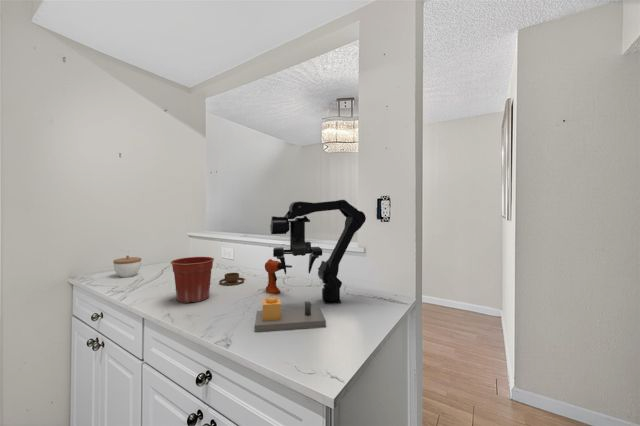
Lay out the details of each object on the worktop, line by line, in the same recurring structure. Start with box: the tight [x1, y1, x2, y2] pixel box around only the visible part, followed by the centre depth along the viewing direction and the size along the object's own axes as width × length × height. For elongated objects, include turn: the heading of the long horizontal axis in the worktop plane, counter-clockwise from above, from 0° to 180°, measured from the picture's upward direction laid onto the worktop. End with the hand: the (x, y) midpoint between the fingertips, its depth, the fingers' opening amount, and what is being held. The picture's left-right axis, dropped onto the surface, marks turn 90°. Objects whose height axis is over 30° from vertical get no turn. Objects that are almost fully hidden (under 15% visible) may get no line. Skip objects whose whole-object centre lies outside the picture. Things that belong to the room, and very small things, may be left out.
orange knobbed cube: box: [262, 295, 282, 321], centre depth 91 cm, size 6×6×6 cm
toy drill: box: [264, 258, 293, 295], centre depth 121 cm, size 5×19×15 cm, turn 45°
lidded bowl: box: [112, 255, 142, 278], centre depth 153 cm, size 13×13×11 cm
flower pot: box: [170, 256, 215, 304], centre depth 115 cm, size 16×16×16 cm
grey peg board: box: [254, 301, 327, 333], centre depth 92 cm, size 22×12×6 cm, turn 100°
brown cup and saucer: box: [210, 272, 247, 287], centre depth 142 cm, size 18×20×6 cm
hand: (297, 273), depth 108 cm, fingers open, 9 cm apart
